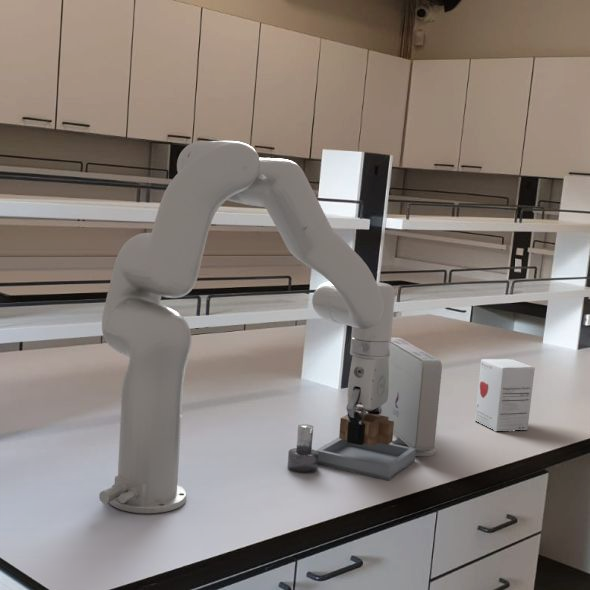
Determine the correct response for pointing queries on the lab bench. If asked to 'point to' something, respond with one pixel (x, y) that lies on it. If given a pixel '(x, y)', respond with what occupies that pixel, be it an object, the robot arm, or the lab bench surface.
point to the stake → (303, 452)
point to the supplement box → (504, 394)
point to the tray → (367, 458)
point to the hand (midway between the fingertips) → (363, 437)
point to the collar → (371, 429)
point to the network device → (413, 396)
